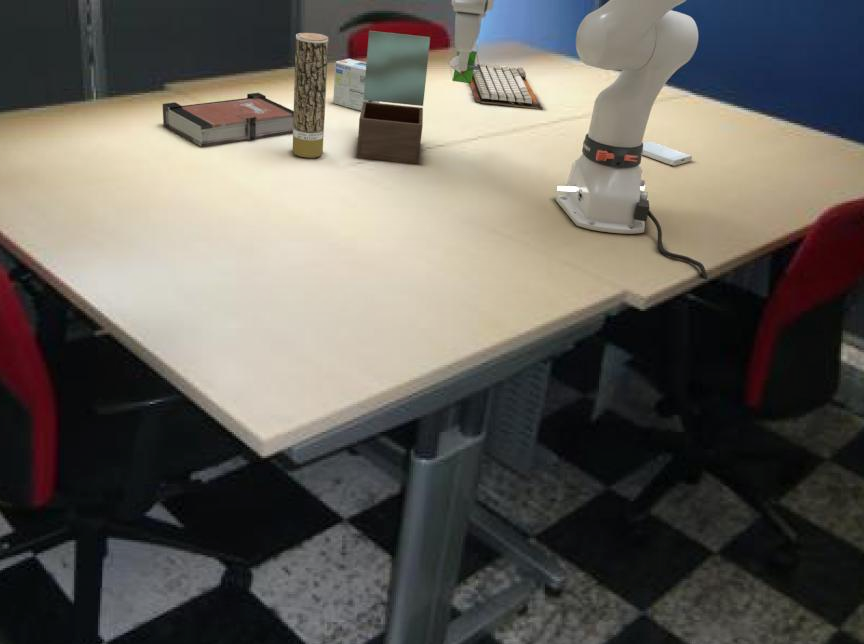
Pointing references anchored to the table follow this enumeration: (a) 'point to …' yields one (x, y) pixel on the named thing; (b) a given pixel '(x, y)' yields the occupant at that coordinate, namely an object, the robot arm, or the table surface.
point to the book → (228, 120)
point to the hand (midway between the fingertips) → (464, 66)
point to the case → (390, 132)
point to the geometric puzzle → (464, 75)
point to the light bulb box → (350, 84)
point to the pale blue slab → (396, 68)
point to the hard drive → (665, 154)
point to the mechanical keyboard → (502, 86)
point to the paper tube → (309, 94)
